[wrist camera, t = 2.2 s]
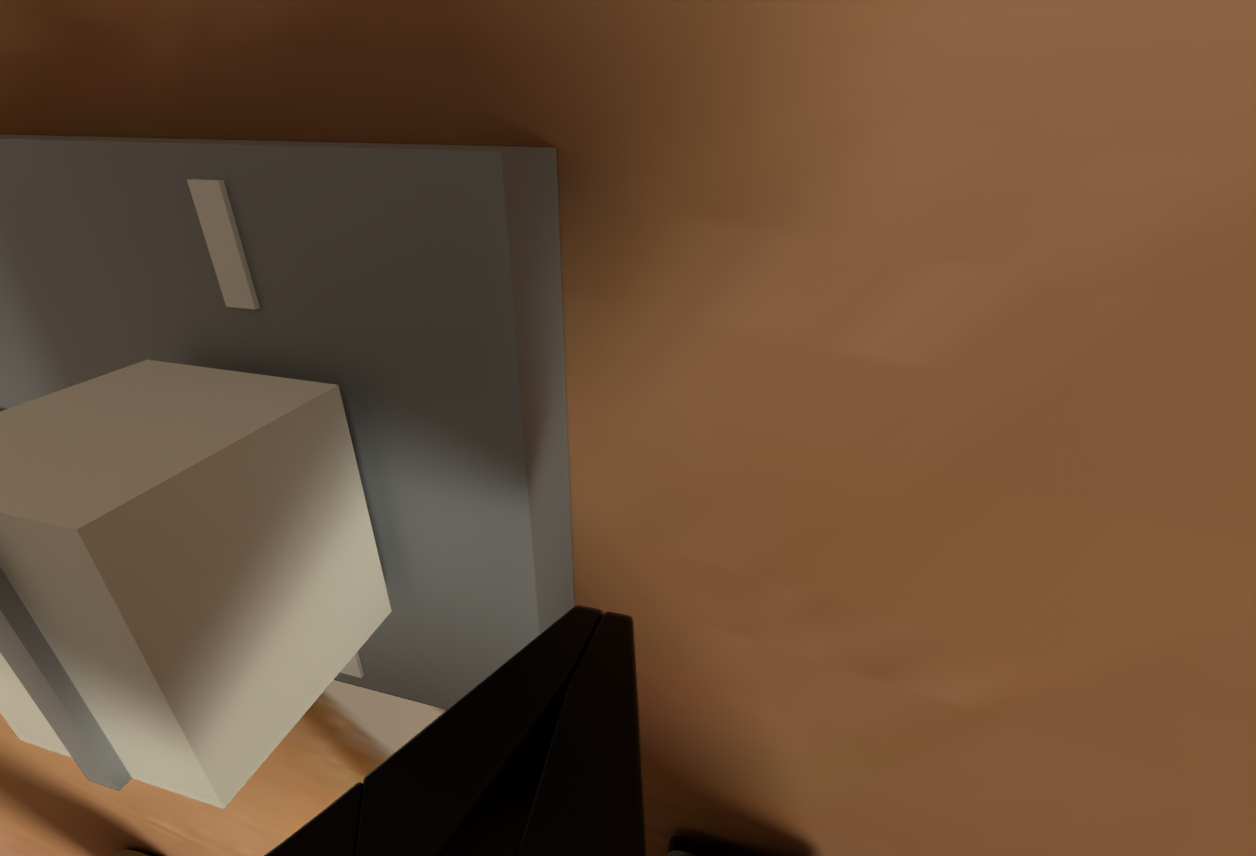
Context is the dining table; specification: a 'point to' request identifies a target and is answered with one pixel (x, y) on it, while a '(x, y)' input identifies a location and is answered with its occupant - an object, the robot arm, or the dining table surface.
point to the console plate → (334, 343)
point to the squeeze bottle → (129, 853)
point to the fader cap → (179, 570)
